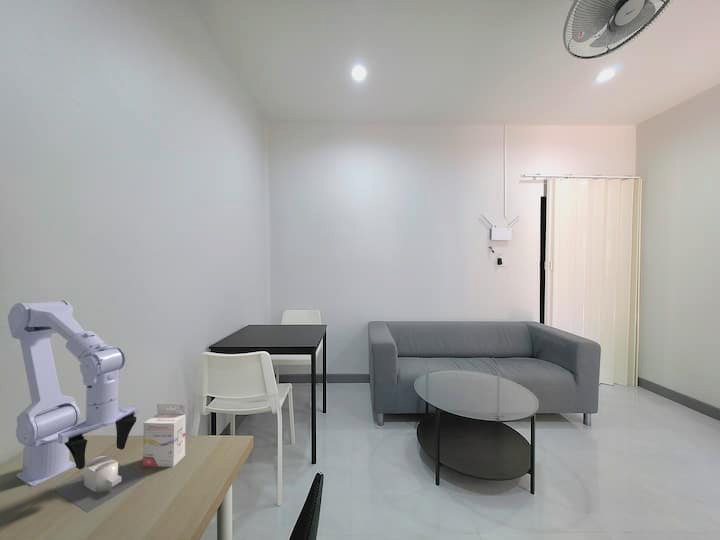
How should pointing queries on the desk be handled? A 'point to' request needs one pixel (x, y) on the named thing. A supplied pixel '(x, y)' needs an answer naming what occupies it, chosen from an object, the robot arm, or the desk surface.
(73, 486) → the desk mat
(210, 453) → the desk surface
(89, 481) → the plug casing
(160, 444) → the ink cartridge box
